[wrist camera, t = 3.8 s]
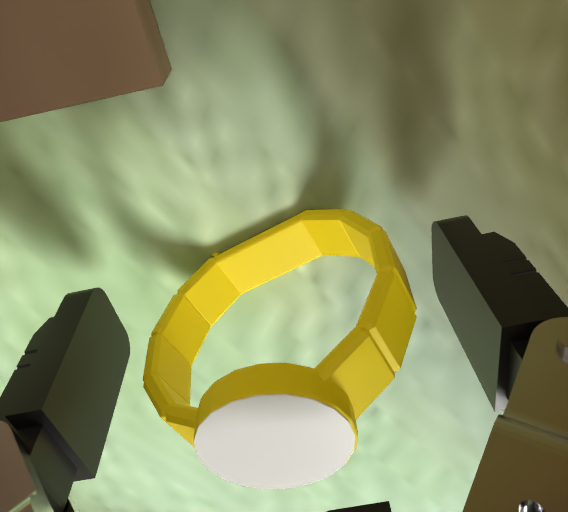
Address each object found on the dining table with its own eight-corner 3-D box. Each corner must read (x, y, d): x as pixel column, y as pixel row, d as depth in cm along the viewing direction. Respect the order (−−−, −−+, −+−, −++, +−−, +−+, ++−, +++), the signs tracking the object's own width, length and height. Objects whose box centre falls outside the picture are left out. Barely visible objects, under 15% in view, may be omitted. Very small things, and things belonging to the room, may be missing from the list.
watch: (210, 318, 14) (171, 524, 10) (153, 252, 13) (74, 457, 8) (399, 241, 13) (466, 447, 8) (358, 155, 11) (408, 344, 6)
